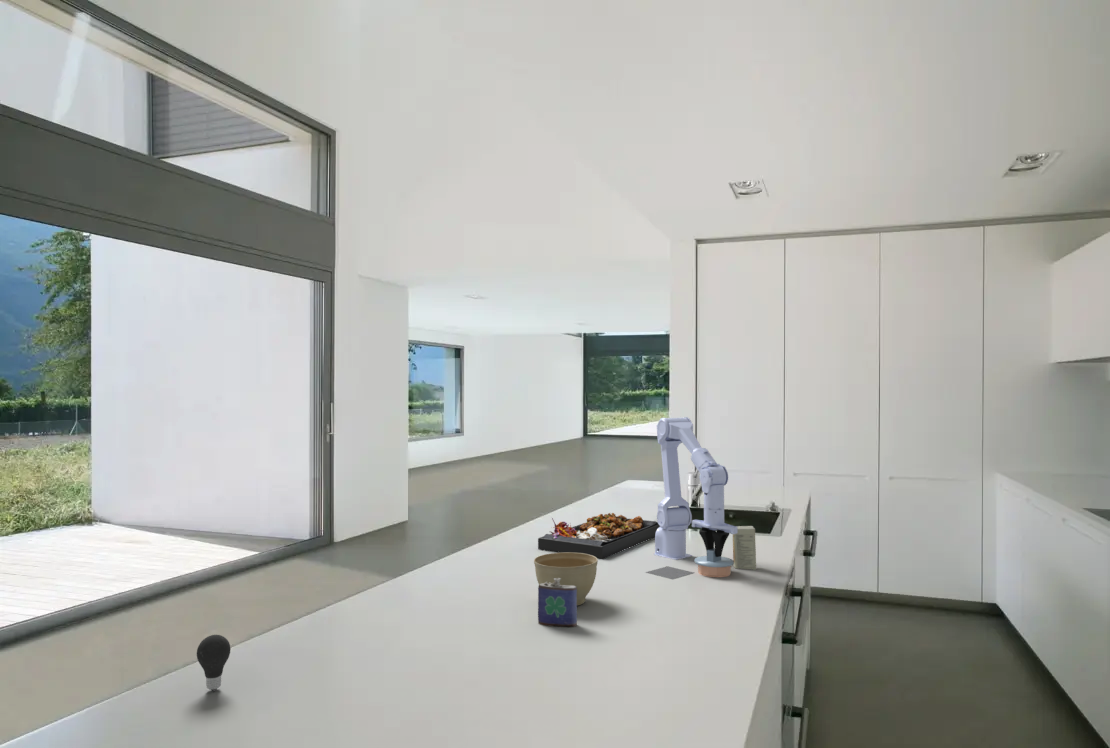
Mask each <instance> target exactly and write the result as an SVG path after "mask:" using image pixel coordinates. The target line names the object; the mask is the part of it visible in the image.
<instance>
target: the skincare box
mask: <svg viewBox="0 0 1110 748" xmlns="http://www.w3.org/2000/svg"><path fill="white" fill-rule="evenodd" d="M736 526H737V528H738V533H737V534H732V556H733V557H732V560H733V561H734V564H733V565H732V566H733V568H734V569H735V570H736V569H737V570H754V571H755V570H757V551H756V548H757V547H756V528H755V527H754V526H753V525H741V526H740V525H736Z"/></svg>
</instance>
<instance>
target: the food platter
mask: <svg viewBox="0 0 1110 748" xmlns="http://www.w3.org/2000/svg"><path fill="white" fill-rule="evenodd" d="M551 520H552V522H553V523H554V526H553V527H552V526H551V529H553V531H549V533H546V534H544V536H540V537H538V538H537V549H538V550H540V551H546V552H552V553H565V552H569V553H584V554H589V555H592V556H595V557H596V558H597V559H598V560H604V559H606V558H609V557H611V556H614V555H616V554H618V552H619V553H621V552H623V551H625V550H624V549H626V550H628V549H630V548H629V547H631V548H632V546H633V547H635V546H637V545H636V544H638V543H640V544H642V543H641V542H643V541H645V542H647V541H649V540H648V539H650V538H652V539H654V538H655V534H656V531H657V529H658V528H659V527H660V525H659V524H658V522H657V521H656V520H654V521H653V520H646V519H643V517H641V516H640V515H638V516H635V517H633V518H627V516H624V515H622V514H620V515H618V516H617V515H616V514H615V513H614V512H612V513H611V512H609V513H607V514H606V513H605V514H603V513H600V514H598V515H596V516H595V515H594V516H591V517H587V519H586V522H583V523H581V524H578V525H574V526H572V525H571V524H570V523H569V524H568V522H566V521H559V522H558V523H557V524H556V523H555V519H554V518H553V517H551ZM653 537H654V538H653ZM646 540H647V541H646ZM650 540H651V539H650ZM643 543H644V542H643ZM634 545H635V546H634ZM638 545H639V544H638ZM627 548H628V549H627ZM622 550H623V551H622ZM620 551H621V552H620ZM615 553H616V554H615ZM613 554H614V555H613Z"/></svg>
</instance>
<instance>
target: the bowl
mask: <svg viewBox="0 0 1110 748" xmlns="http://www.w3.org/2000/svg"><path fill="white" fill-rule="evenodd" d="M697 572H698V574H699V575H701V576H704V577H709V578H726V577H729V576H731V572H732V566H728V567H707V566H702V565H698V564H697Z"/></svg>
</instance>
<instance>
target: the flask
mask: <svg viewBox="0 0 1110 748" xmlns="http://www.w3.org/2000/svg"><path fill="white" fill-rule="evenodd" d="M554 580H555V581H554V582H553V583H550V582H549V584H548V583H547V582H545V583H541V584H538V587H537V589H538V590H537V591H538V592H537V593H538V595H537V596H538V597H537V598H538V599H537V622H538V623H537V624H538V625H541V626H548V627H563V628H574V626H575V627H577V624H578V618H577V617H578V613H577V611H578V608H577V607H578V605H577V588H576V586H572V585H571V586H568V585H560V582H559V581H560V580H561V578H554Z"/></svg>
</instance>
